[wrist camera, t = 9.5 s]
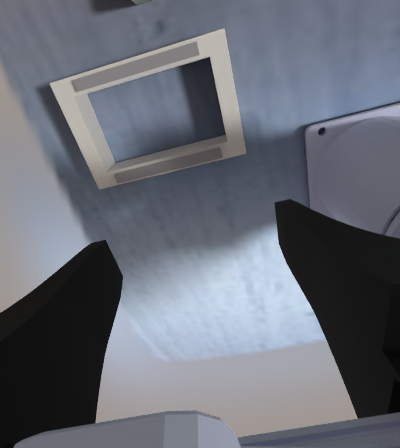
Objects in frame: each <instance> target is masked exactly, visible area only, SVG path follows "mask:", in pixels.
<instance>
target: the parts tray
mask: <svg viewBox="0 0 400 448" xmlns="http://www.w3.org/2000/svg"><path fill="white" fill-rule="evenodd" d="M131 1H133V2H134V3H135V4H136V5H139V4H142V3H145V2H148V1H151V0H131Z"/></svg>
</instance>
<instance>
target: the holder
mask: <svg viewBox="0 0 400 448" xmlns="http://www.w3.org/2000/svg"><path fill="white" fill-rule="evenodd" d="M209 57H210V61H211V65H212V70H213V75H214V80H215V85H216V89H217V94H218V99H219V104H220V109H221V113H222V118H223V123H224V128H225V133H226V135H222V136H218V137H215V138H211V139H207V140H203V141H199V142H195V143H191V144H187V145H184V146H180V147H176V148H172V149H168V150H164V151H160V152H156V153H152V154H149V155H145V156H141V157H137V158H133V159H129V160H125V161H121V162H117V163H116V162H115V160H114V158H113V155H112V153H111V150H110V148H109V146H108V143H107V141H106V138H105V136H104V134H103V131H102V129H101V126H100V124H99V122H98V119H97V117H96V115H95V112H94V110H93V107H92V105H91V103H90V100H89V98H88V95H87V94H89V93H93V92H96V91H99V90H103V89H106V88H109V87H113V86H116V85H119V84H123V83H126V82H129V81H132V80H136V79H139V78H142V77H146V76H149V75H152V74H156V73H159V72H162V71H166V70H169V69H172V68H176V67H179V66H182V65H185V64H189V63H192V62H195V61H199V60H202V59H205V58H209ZM49 84H50V86H51V88H52V90H53V92H54V94H55V97H56V99H57V101H58V103H59V105H60V107H61V109H62V111H63V114H64V116H65V118H66V120H67V122H68V124H69V126H70V128H71V131H72V133H73V135H74V137H75V139H76V141H77V143H78V146H79V148H80V150H81V152H82V154H83V156H84V158H85V160H86V163H87V165H88V167H89V169H90V171H91V173H92V175H93V177H94V180H95V182H96V184H97V186H98V188H99V190H100V189H104V188H108V187H112V186H117V185H121V184H125V183H129V182H133V181H137V180H141V179H145V178H149V177H153V176H157V175H162V174H166V173H170V172H174V171H178V170H182V169H186V168H190V167H194V166H198V165H202V164H207V163H211V162H215V161H219V160H223V159H227V158H231V157H235V156H239V155H243V154H247V152H246V146H245V141H244V135H243V130H242V124H241V118H240V113H239V107H238V102H237V96H236V90H235V85H234V79H233V73H232V68H231V62H230V57H229V51H228V45H227V40H226V34H225V29H221V30H217V31H214V32H211V33H208V34H205V35H202V36H198V37H195V38H192V39H189V40H186V41H182V42H179V43H176V44H173V45H170V46H167V47H163V48H160V49H157V50H154V51H151V52H148V53H144V54H141V55H138V56H135V57H132V58H129V59H125V60H122V61H119V62H116V63H113V64H110V65H106V66H103V67H100V68H97V69H94V70H91V71H87V72H84V73H81V74H78V75H75V76H71V77H68V78H65V79H62V80H59V81H56V82H52V83H49Z"/></svg>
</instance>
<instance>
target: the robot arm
mask: <svg viewBox="0 0 400 448" xmlns="http://www.w3.org/2000/svg"><path fill="white" fill-rule="evenodd" d="M322 127H324V132H323V133H322V134H318V130H319V129H320V128H322ZM305 145H306V159H307V173H308V187H309V200H310V208H308V207H306V206H304V205H302V204H300V203H298V202H295V201H293V200H291V199H289V200H284V201H280V202H275V210H276V220H277V230H278V239H279V245H280V248H281V250H282V253H283V255H284V258H285V260H286V263H287V265H288V266H289V268H290V270H291V272H292V274H293V275H294V277H295V279H296V281H297V282H298V284H299V286H300V288H301V289H302V291H303V293H304V295H305V296H306V298H307V300H308V302H309V303H310V305H311V307H312V309H313V311H314V313H315V315H316V317H317V319H318V321H319V324H320V326H321V328H322V331H323V333H324V335H325V337H326V340H327V342H328V344H329V347H330V349H331V352H332V354H333V356H334V359H335V361H336V363H337V366H338V369H339V371H340V374H341V376H342V379H343V381H344V384H345V386H346V389H347V391H348V394H349V396H350V399H351V401H352V404H353V407H354V409H355V412H356V415H357V417H358V419H353V420H347V421H340V422H334V423H328V424H322V425H315V426H308V427H302V428H297V429H290V430H283V431H276V432H270V433H264V434H257V435H251V436H244V437H237V435H236V434H235V433H234V431H232V430H231V428H230V427H229V426H228V425H227V424H225V422H224V421H222V420H221V419H220V418H219V417H216V416H212V415H209V414H206V413H202V412H199V411H166V412H160V413H154V414H148V415H143V416H136V417H130V418H124V419H118V420H113V421H106V422H100V423H95V420H96V411H97V402H98V395H99V388H100V381H101V374H102V369H103V363H104V356H105V352H106V348H107V344H108V340H109V337H110V333H111V330H112V326H113V323H114V319H115V315H116V312H117V308H118V305H119V301H120V297H121V290H122V281H123V275H122V273H121V271H120V269H119V267H118V265H117V263H116V261H115V259H114V257H113V255H112V252H111V250H110V248H109V246H108V244H107V242H106V240H103V241H98V242H94V243H91V244H90V245H88V246H87V247H85V248H84V249H83V250H82V251H80V252H79V253H78V254H77V255H75V256H74V257H73V258H72V259H71V260H70V261H68V262H67V263H66V264H65V265H64V266H63V267H61V268H60V269H59V270H58V271H57V272H55V273H54V274H53V275H52V276H50V277H49V278H48V279H47V280H46V281H44V282H43V283H42V284H41V285H39V286H38V287H37V288H36V289H34V290H33V291H32V292H30V293H29V294H28V295H26V296H25V297H23V298H22V299H21V300H19V301H18V302H16V303H15V304H13V305H12V306H11V307H9V308H7V309H6V310H4V311H3V312H1V313H0V448H400V103H397V104H393V105H389V106H385V107H381V108H377V109H373V110H369V111H365V112H361V113H357V114H353V115H349V116H345V117H341V118H337V119H333V120H329V121H325V122H321V123H317V124H313V125H310V126H309V127H308V128H307V129H306V131H305Z"/></svg>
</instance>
